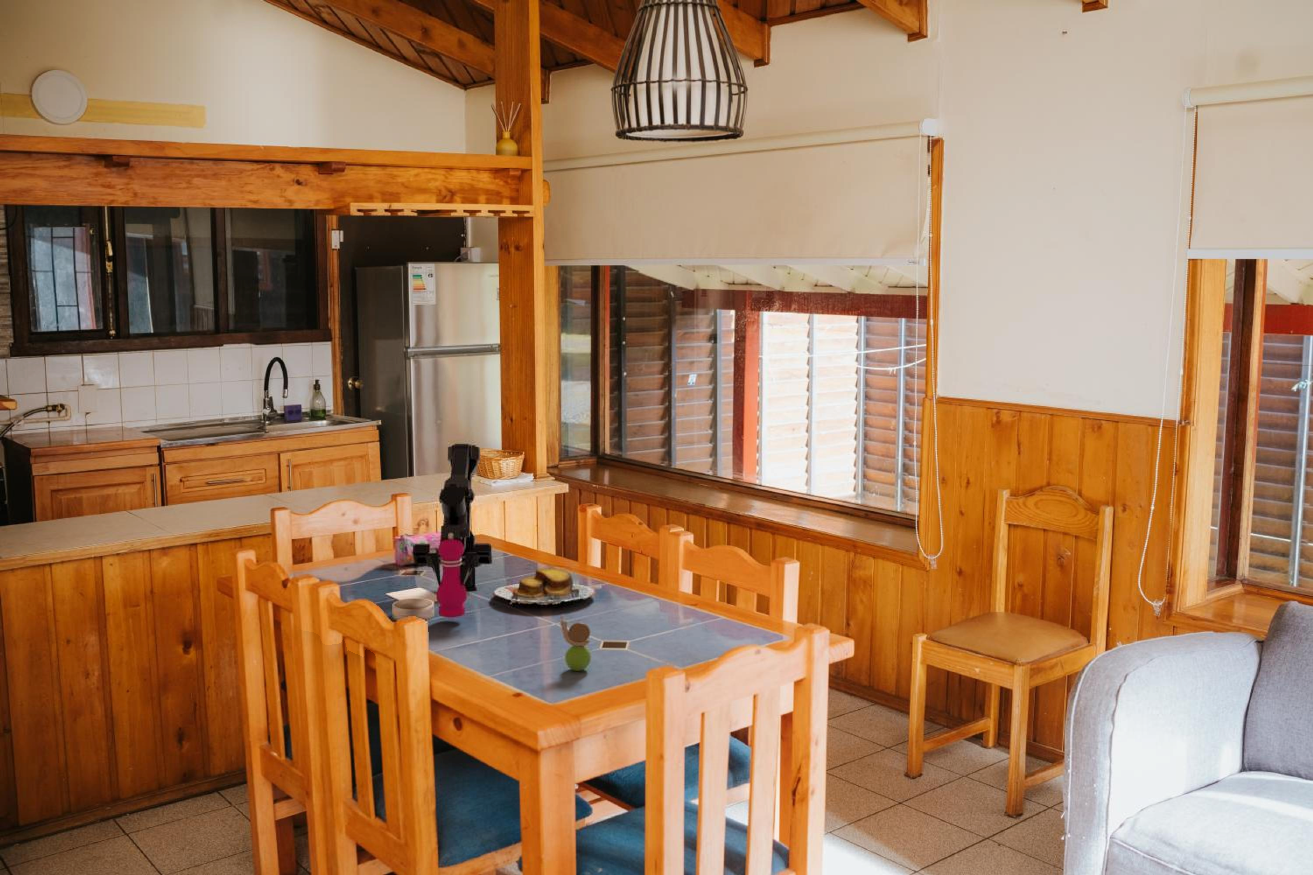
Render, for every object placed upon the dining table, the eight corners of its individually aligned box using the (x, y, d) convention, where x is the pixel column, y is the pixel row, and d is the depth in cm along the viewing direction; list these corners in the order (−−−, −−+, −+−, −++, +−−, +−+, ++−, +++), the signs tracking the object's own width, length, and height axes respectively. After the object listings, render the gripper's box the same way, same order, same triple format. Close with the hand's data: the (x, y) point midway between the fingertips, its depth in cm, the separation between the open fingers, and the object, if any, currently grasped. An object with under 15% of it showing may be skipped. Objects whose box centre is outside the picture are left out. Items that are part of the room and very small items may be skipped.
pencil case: (403, 569, 332) (402, 538, 331) (389, 563, 339) (389, 532, 338) (470, 559, 345) (470, 529, 343) (456, 553, 352) (455, 523, 351)
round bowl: (430, 608, 293) (430, 596, 292) (437, 619, 283) (437, 607, 283) (390, 612, 289) (389, 599, 289) (395, 623, 280) (394, 610, 280)
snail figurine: (560, 665, 251) (560, 611, 249) (590, 665, 252) (590, 611, 250) (560, 674, 246) (560, 618, 244) (591, 674, 246) (591, 618, 245)
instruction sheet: (420, 588, 312) (420, 587, 312) (446, 599, 301) (446, 598, 301) (385, 594, 305) (385, 593, 305) (411, 606, 295) (411, 605, 295)
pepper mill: (460, 619, 277) (459, 536, 274) (431, 616, 279) (430, 534, 276) (471, 610, 284) (470, 529, 281) (443, 608, 286) (442, 528, 283)
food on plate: (473, 604, 298) (473, 579, 297) (530, 583, 320) (530, 559, 319) (560, 619, 286) (560, 592, 285) (613, 595, 308) (613, 570, 307)
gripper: (412, 510, 281) (407, 567, 272) (491, 510, 283) (488, 567, 273) (417, 535, 290) (412, 591, 281) (493, 535, 291) (491, 590, 282)
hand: (450, 584), depth 279 cm, fingers closed on pepper mill, 5 cm apart
